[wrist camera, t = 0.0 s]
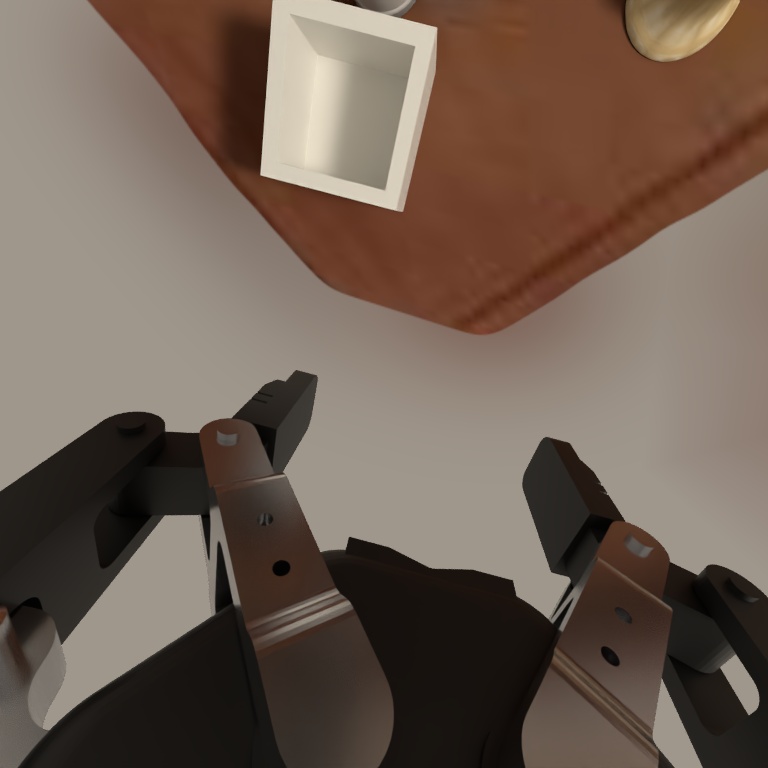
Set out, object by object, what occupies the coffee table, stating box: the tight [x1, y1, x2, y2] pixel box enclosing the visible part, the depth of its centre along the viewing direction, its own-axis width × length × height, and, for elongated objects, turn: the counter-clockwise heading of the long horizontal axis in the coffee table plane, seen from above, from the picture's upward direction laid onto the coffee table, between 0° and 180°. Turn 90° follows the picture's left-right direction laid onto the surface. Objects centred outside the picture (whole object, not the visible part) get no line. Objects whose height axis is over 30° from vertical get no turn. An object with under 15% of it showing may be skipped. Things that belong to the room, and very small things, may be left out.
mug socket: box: [261, 0, 437, 212], centre depth 30 cm, size 11×12×8 cm
